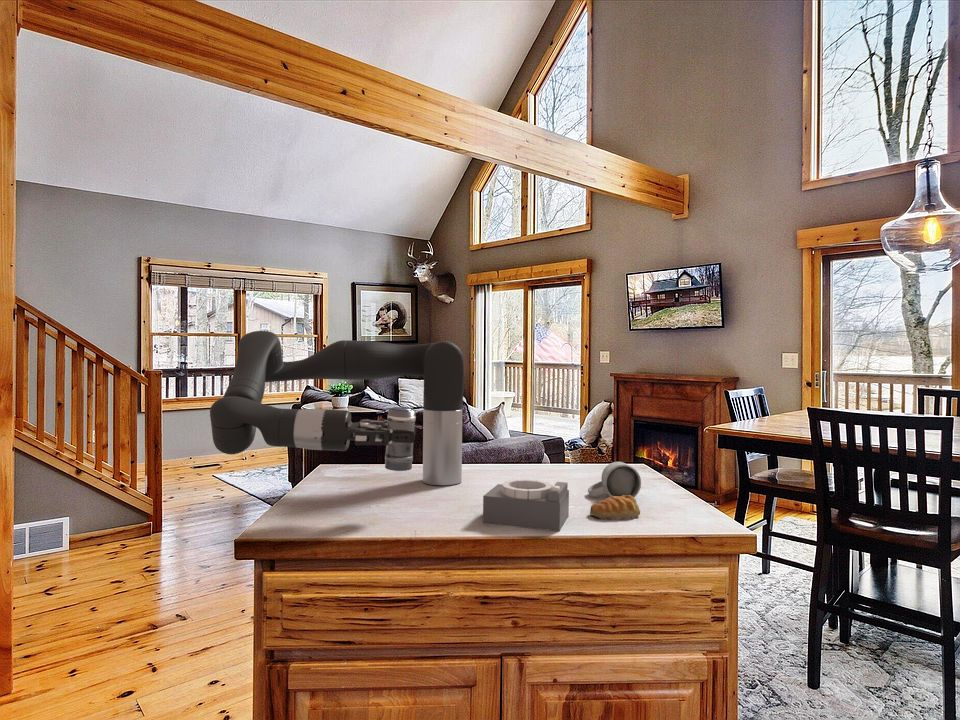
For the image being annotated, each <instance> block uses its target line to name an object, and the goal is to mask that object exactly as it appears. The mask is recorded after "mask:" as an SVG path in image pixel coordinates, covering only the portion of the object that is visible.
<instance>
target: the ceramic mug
mask: <svg viewBox="0 0 960 720" xmlns="http://www.w3.org/2000/svg"><path fill="white" fill-rule="evenodd" d="M641 488H642V478H641V475H640V473H639V472H638V471H637V469H636V468H635V467H633V466H631V465H630V464H627V463H625V462H623V461H613V462H611V463H608V464H607V465H606V466H605V467H604V468H603V470H602V472H601V481H599V482H596V483H595V484H592V485H590V486H589V487H588V488H587V493H588V494H589V497H591V498H596V497H599V496H600V497H601V496H604V495H605V494H608V497H612V496H622V495H625V496H626V495H631V496H633V497H634V498H636V497H637V495H638V494H639V493H640V491H641Z"/></svg>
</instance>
